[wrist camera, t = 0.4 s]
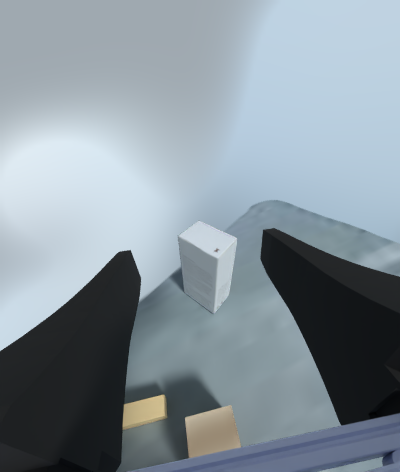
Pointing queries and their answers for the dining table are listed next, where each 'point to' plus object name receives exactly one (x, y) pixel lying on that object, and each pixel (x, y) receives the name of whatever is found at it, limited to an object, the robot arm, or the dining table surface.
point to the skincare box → (207, 264)
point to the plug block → (211, 432)
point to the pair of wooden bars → (144, 411)
